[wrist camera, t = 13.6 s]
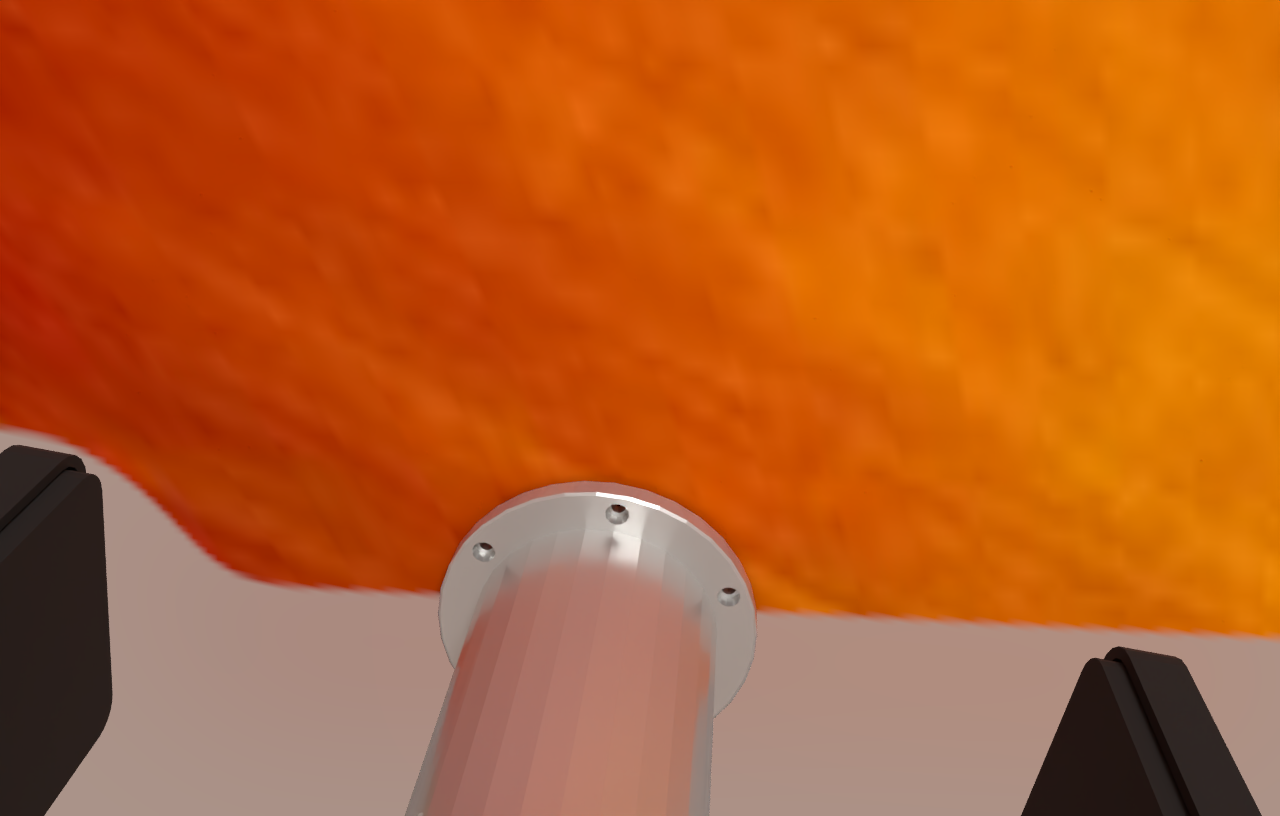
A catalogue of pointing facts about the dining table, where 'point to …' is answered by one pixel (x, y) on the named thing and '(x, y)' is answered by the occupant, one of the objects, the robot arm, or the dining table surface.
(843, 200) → the dining table surface
